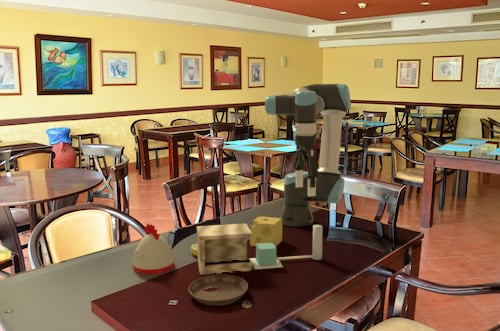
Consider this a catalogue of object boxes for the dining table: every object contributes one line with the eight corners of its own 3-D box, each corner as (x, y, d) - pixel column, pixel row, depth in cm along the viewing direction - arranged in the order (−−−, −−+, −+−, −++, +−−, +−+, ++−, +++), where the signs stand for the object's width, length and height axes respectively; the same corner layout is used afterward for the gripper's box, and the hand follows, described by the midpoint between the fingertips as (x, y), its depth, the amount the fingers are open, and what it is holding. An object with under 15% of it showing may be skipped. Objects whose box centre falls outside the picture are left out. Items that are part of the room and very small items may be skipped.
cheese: (249, 246, 179) (249, 221, 177) (259, 238, 188) (259, 214, 187) (274, 249, 175) (274, 224, 173) (283, 241, 185) (283, 217, 183)
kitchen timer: (159, 256, 169) (157, 217, 166) (181, 266, 159) (180, 224, 156) (125, 266, 159) (123, 225, 156) (147, 277, 149) (145, 233, 147)
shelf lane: (246, 258, 166) (245, 223, 164) (252, 270, 154) (252, 233, 152) (197, 261, 162) (196, 226, 160) (200, 274, 151) (199, 236, 149)
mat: (275, 256, 167) (275, 256, 167) (282, 267, 157) (282, 266, 157) (249, 258, 165) (249, 258, 165) (254, 269, 155) (254, 268, 155)
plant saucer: (198, 314, 125) (198, 304, 125) (182, 289, 141) (181, 279, 141) (257, 302, 132) (257, 292, 132) (235, 279, 148) (234, 270, 148)
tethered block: (318, 254, 168) (319, 223, 166) (324, 260, 162) (325, 228, 160) (256, 259, 164) (255, 227, 162) (259, 265, 158) (259, 232, 156)
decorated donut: (223, 256, 168) (223, 246, 168) (195, 260, 164) (195, 250, 164) (214, 247, 178) (214, 238, 177) (188, 251, 174) (187, 241, 173)
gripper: (285, 130, 175) (285, 184, 180) (307, 139, 152) (307, 200, 156) (303, 130, 177) (303, 183, 181) (328, 138, 153) (327, 199, 157)
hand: (305, 191), depth 168 cm, fingers open, 13 cm apart
